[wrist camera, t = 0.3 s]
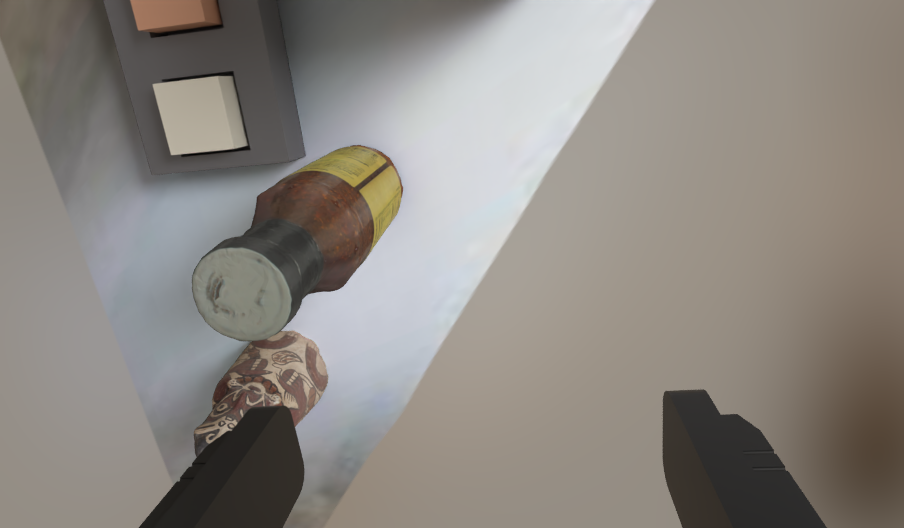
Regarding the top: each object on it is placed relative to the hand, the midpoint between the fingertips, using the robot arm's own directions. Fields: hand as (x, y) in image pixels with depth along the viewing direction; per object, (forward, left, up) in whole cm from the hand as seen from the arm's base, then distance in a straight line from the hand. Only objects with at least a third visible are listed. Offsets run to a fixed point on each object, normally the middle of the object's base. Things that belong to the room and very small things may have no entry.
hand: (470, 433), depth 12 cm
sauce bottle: (-1, -10, -28) cm, 30 cm away
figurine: (+14, -19, -28) cm, 37 cm away
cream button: (-7, -19, -26) cm, 32 cm away
